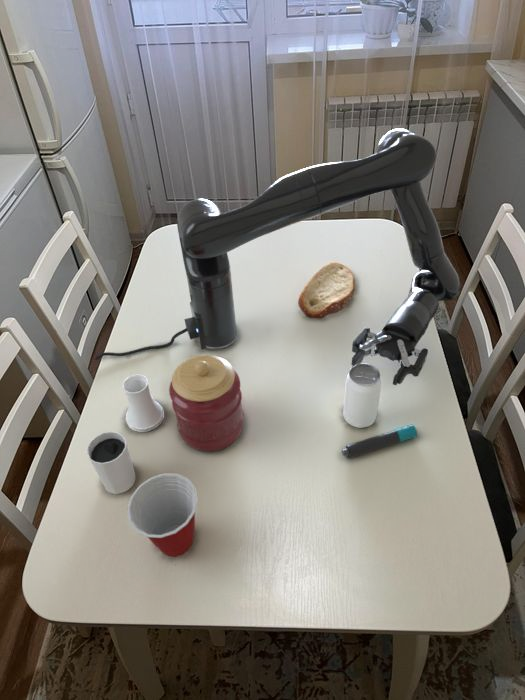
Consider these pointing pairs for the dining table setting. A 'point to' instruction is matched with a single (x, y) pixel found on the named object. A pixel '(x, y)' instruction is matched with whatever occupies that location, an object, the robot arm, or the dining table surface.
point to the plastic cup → (165, 512)
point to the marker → (380, 441)
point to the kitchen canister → (207, 402)
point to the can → (362, 395)
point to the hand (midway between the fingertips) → (374, 373)
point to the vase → (141, 405)
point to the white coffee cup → (112, 461)
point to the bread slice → (327, 291)
